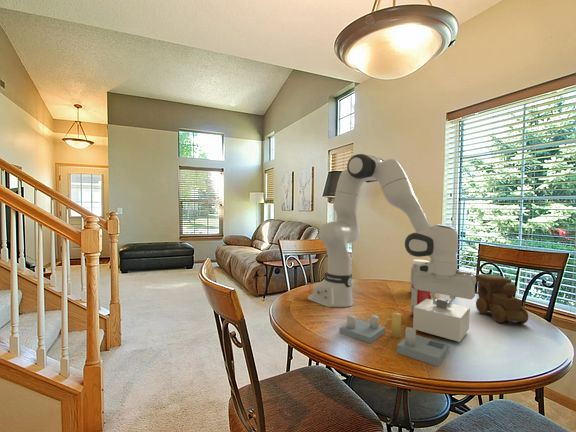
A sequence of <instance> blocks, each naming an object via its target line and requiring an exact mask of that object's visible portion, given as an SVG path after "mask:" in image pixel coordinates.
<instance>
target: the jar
mask: <svg viewBox="0 0 576 432" xmlns="http://www.w3.org/2000/svg"><path fill="white" fill-rule="evenodd" d="M424 263H430V261H429V260H426V259H420V258H419V259H418V258H417V259H412V266H411V268H410V292H411V293H412V284H413V282H414V276H415V273H416V272H417V266H418V265H420V264H424Z"/></svg>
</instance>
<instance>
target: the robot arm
mask: <svg viewBox="0 0 576 432" xmlns="http://www.w3.org/2000/svg"><path fill="white" fill-rule="evenodd" d="M373 182H378V183H379V186H380V189H381V191H382V193H383V196H384V197H385V200H386V201H387V202H388V204H389V205H391V206H393V207H395V208H397V209H399V210H401V211H402V212H403V213H405V214H406V216H407V217H408V218H409V221H410V223H411V225H412V228H414V232H412V233H410V234H408V235H407V236H406V237H405V240H404V248H405V250H406V252H407V254H409V255H410V256H412V257H417V258H423V257H429V258H430V261H429V262H430V263H424V264H420V265H418V266H417V272H416V273H415V276H414V282H413V286H414V288H415V289H418V290H423V291H428V292H430V296H431V297H432V300H433V304H434V305H437V299H438V298H437V297H436V294H439V295H445V296H449V299H450V300H448V301H447V302H446V307H448V308H451V306H452V304H453V302H454V300H455V299H456V298H459V299H460V298H461V299H465V300H472V299H474V298H475V297H476V290H475V289H476V287H475V286H476V283H477V281H476V276H475V275H476V274H473V273H472V272H469V271H463V270H458V258H457V257H458V255H457V254H458V251H459V237H458V236H459V235H458V232H457V229H456V228H455V227H453V226H451V225H447V224H441V223H435V224H433V225H432V224H431V222H430V221H429V219H428V217H427V215H426V213H425V211H424V209H423V208H422V206H421V204H420V203H419V200H418V198H417V196H416V194H415V192H414V190H413V187H412V184H411V183H410V180H409V178H408V176H407V174H406V172H405V171H404V169H403V167H402V165H401V164H400V163H399V161H398V160H396V159H392V158H390V159H384V160H383V159H382V158H379V157H376V156H374V155H368V154H364V153H358V154H355V155H353V156H351V157H350V158H349V160H348V162H347V165H346V169H344V170H342V171H341V173H340V175H339V177H338V181H337V185H336V189H335V195H334V200H333V209H334V211H335V213H336V214H335V215H336V221H329V222H326V223H324V224H322V225H321V226H320V228H319V230H318V236H319V239H320V241H321V243H323V245H324V247H325V250H326V254H327V272H325V273H323V274H322V276H323V277H324V278H323V280H322V281H319V283H317V284H315V285H314V286H313V289H312V294H309V295H308V296H307V300H309V301H311V302H314V303H316V304H319V305H322V306H324V307H327V308H334V307H335V308H347V307H351V306H353V305H354V304H355V303H354V299H353V292H352V283H353V273H352V256H351V255H350V254H349V252H348V249H347V248H348V247H347V244H352V243H354V242H355V241H357V240H359V238H360V236H361V228H360V226H359V223H358V216H357V215H358V206H359V205H358V204H359V199H360V194H361V188H362V185H363V184H364V183H366V184H367V183H368V184H369V183H373Z"/></svg>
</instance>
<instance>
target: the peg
mask: <svg viewBox="0 0 576 432" xmlns="http://www.w3.org/2000/svg"><path fill="white" fill-rule="evenodd" d="M401 326H402V313H400V312H392V314H391V337H393V338H395V339H399V338H401V337H402V336H401V335H402V334H401V329H402V327H401Z"/></svg>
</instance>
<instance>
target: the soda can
mask: <svg viewBox="0 0 576 432" xmlns="http://www.w3.org/2000/svg"><path fill="white" fill-rule="evenodd" d="M425 299H431V300H433V299H432V297H431V296H430V292H428V291H423V290H418V289H415V288H414V286H413V284H412V292H411V300H410V314H411V315H412V316H413V314H414V307H415V306H416V305H418V304H419V303H421V302H422V301H424V300H425Z"/></svg>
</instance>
